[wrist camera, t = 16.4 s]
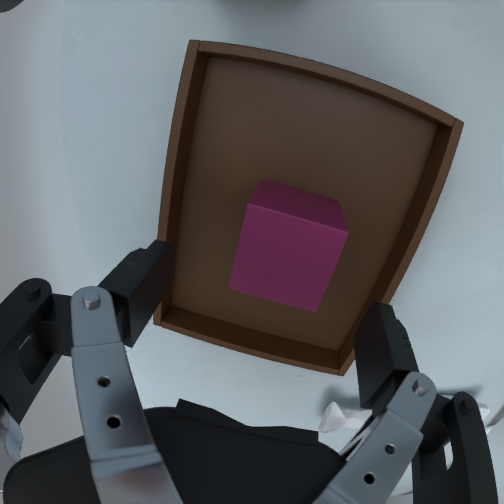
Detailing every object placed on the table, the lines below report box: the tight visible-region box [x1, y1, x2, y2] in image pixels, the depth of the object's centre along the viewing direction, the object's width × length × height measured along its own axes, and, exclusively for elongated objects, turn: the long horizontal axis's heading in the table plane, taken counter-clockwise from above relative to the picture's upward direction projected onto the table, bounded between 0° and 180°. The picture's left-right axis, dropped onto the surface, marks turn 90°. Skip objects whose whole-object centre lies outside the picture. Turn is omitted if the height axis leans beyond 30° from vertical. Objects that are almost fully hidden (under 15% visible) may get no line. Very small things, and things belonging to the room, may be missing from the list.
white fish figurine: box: [319, 395, 491, 433], centre depth 22 cm, size 6×18×4 cm, turn 90°
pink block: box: [228, 179, 349, 312], centre depth 15 cm, size 4×4×4 cm
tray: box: [153, 40, 464, 376], centre depth 17 cm, size 14×18×3 cm
